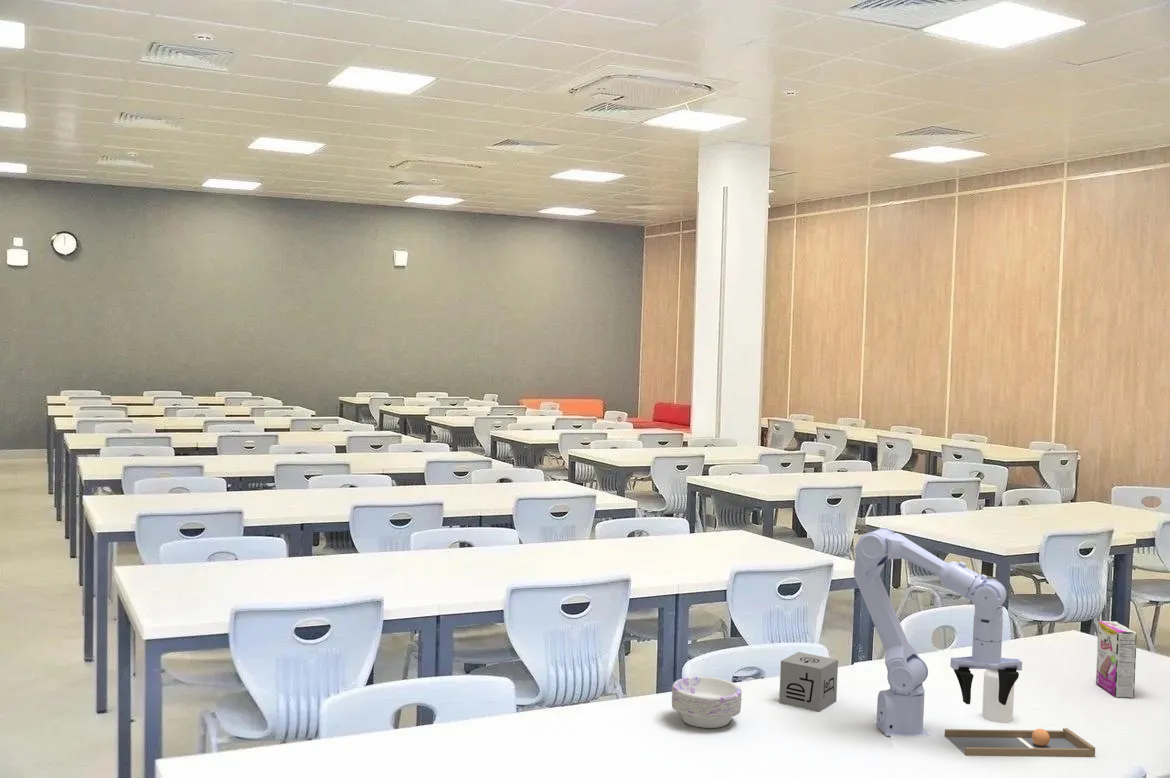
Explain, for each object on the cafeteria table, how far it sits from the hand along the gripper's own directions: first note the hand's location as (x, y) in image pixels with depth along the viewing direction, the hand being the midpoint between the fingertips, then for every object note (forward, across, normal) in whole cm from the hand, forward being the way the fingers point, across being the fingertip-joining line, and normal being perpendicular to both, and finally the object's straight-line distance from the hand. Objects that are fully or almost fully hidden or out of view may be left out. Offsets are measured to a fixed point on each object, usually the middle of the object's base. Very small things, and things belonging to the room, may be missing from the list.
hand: (984, 703), depth 231 cm
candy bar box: (+10, +51, +41) cm, 66 cm away
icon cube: (+10, -30, +29) cm, 43 cm away
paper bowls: (+10, -56, +14) cm, 59 cm away
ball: (+9, +13, 0) cm, 16 cm away
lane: (+9, +7, 0) cm, 12 cm away
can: (+10, +11, +18) cm, 23 cm away
